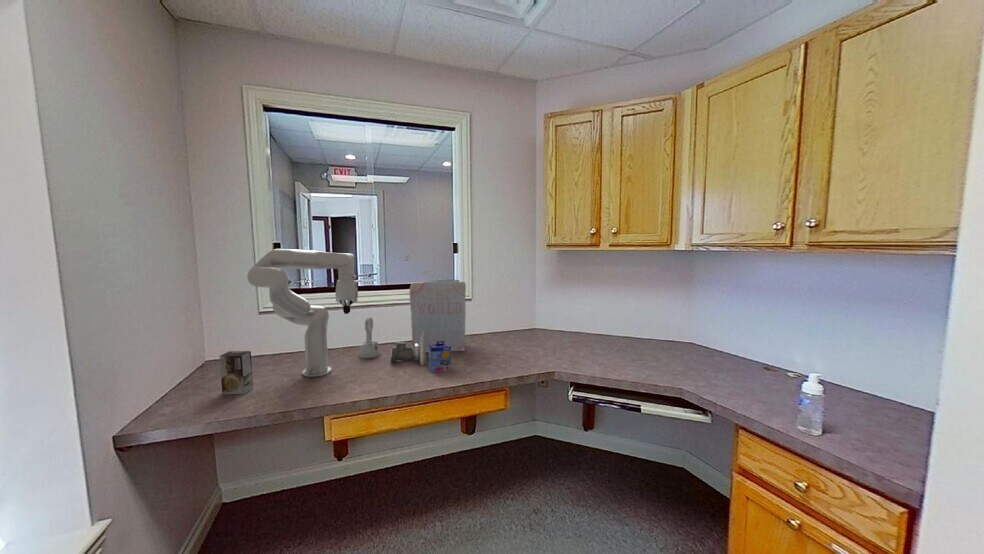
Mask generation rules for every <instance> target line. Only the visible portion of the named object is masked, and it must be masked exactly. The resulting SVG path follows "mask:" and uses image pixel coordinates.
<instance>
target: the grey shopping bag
mask: <svg viewBox="0 0 984 554" xmlns="http://www.w3.org/2000/svg"><path fill="white" fill-rule="evenodd" d="M466 288H467V285H466V282H465V281H460V279H443V280H441V279H439V280H431V281H420V282H419V281H415V282H412V283H411V284H410V287H409V307H410V319H411V320H410V321H411V323H410V324H411V325H410V326H411V336H412V337H411V338H412V346H411V347H412V349H413V350H414V344H415V343H420V336H421V334H422V331H425V344H426V353H429V345H433V344H437V342H439V341H444V344H445V343H448V344H449V345H450V346H451V352H457V351H458V352H459V351H466V348H465V344H466V343H465V342H466V292H467V290H466ZM440 343H442V342H440ZM440 343H438V344H440Z"/></svg>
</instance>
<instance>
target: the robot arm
mask: <svg viewBox="0 0 984 554" xmlns="http://www.w3.org/2000/svg"><path fill="white" fill-rule="evenodd" d="M284 269H287V270H326V269H327V270H328V269H332V270H334V269H335V270H338V273H337V274H338V277H337V278H338V279H337V281H336V286H335V302H336V303H340V304H341V306H342V312H343V314H344V315H348V314H350V312H351V305H352V304H353V303H358V298H359V292H358V291H359V290H358V284H357V278H358V275H355V255H354V254H353V253H343V252H332V251H331V252H327V251H321V250H309V249H297V248H296V249H293V248H275V249H274V248H273V249H272V250H271V251H269V252H267V253H266V254H264V256H262V257H261V258H260V259H259V260H258V261H257V262H256V263H255V264H254V265H253V266H252V267H251V268H250V269H249V271H248V272H247V274H246V275H247V277H246V278H247V281H248V283H249V284H250V285H251V286H252V287H253V286H254V287H257V288H267V289H269V291H268V293H269V295H268V296H269V300H270V303H271V304H272V310H273V312H274V313H275V314H276V315H277V316H278V317H280V318H282V319H284V320H287V321H289V323H292V324H294V325H299V326H307V329H306V330H305V333H304V336H303V337H304V339H303V340H304V356H305V357H304V359H305V369H303V370H302V372H301V375H302V376H304V377H307V378H313V377H314V378H315V377H323V376H326V375H328V374H331V372H332V370H333V369H332V367H331V366H329V362H328V361H329V360H328V357H329V356H328V352H329V351H328V323H329V319H330V318H329V317H330V315H329V311H328V309H326V308H325V307H324V306H321V305H313V304H310V302H309V300H307V299H306V298H304V297H303V296H301V295H300V294H297V293H295V292H294V291H293V290H291V289H290V288H289V278H288V274H287V272H286V271H285V270H284ZM355 279H356V280H355Z"/></svg>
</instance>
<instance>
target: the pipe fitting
mask: <svg viewBox="0 0 984 554" xmlns="http://www.w3.org/2000/svg"><path fill="white" fill-rule="evenodd" d="M395 344H396V345H395V346H394V345H392V346H391V350H390V354H389V355H390V356H389V357H390V363H396V362H397V361H401V362H403V361H406V362H412V361H414V350H413V348H412V347H413V346H406V345H407V342H405V341H396V342H395Z"/></svg>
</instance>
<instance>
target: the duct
mask: <svg viewBox="0 0 984 554" xmlns="http://www.w3.org/2000/svg"><path fill="white" fill-rule="evenodd" d="M426 353H427V352H426V344H425V331H422V334H421V336H420V343H415V344H414V360H413V361H414V362H420V363H419V365H420V366H424V364H425V360H426V356H427V355H426Z"/></svg>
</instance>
